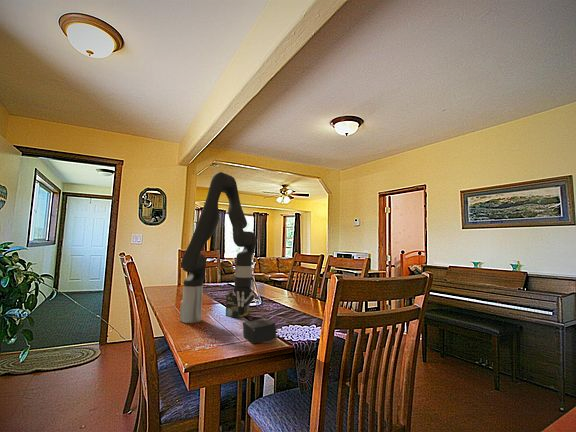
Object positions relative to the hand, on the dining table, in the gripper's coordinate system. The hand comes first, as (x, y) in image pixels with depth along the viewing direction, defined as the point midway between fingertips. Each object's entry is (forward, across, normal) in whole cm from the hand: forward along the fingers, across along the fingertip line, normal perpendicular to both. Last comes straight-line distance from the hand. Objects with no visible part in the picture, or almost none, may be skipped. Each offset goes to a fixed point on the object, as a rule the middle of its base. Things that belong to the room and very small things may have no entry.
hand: (241, 314), depth 137 cm
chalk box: (+8, +15, -24) cm, 29 cm away
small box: (+4, -8, +2) cm, 9 cm away
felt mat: (+7, -16, +4) cm, 18 cm away
